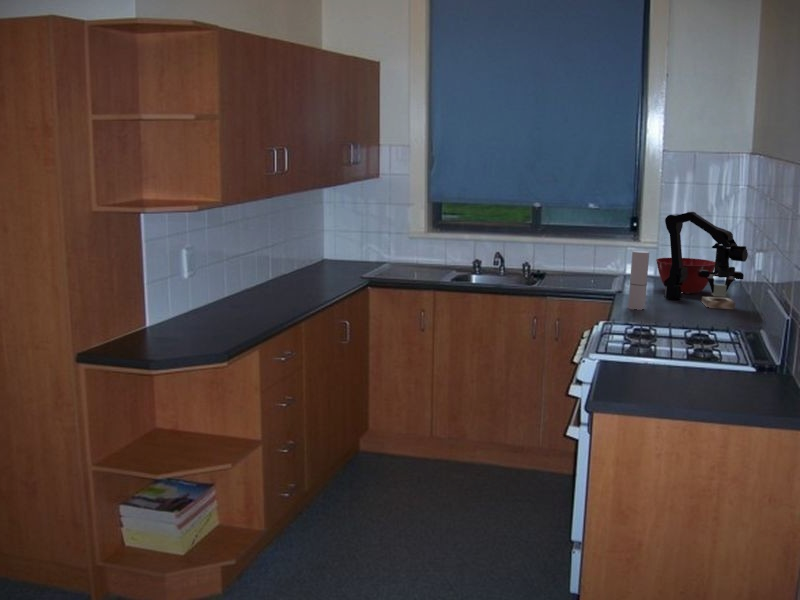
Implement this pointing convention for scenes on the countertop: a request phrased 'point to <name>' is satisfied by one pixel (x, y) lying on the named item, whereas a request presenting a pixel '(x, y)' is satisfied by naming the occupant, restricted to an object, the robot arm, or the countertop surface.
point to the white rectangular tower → (638, 280)
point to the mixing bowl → (693, 266)
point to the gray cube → (719, 290)
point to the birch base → (718, 302)
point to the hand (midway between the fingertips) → (718, 293)
